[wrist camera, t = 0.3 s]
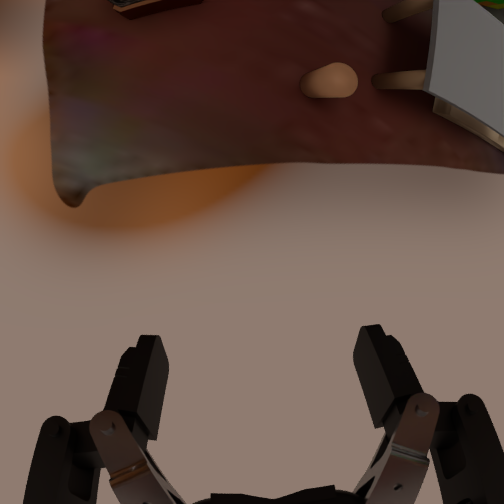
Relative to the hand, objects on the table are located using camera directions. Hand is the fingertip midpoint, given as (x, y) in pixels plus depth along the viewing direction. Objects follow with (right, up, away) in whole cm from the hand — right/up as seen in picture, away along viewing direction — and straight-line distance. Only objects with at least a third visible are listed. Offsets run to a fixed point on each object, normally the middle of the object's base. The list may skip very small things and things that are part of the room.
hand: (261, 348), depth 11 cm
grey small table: (+23, +28, +16) cm, 40 cm away
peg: (+7, +23, +18) cm, 30 cm away
